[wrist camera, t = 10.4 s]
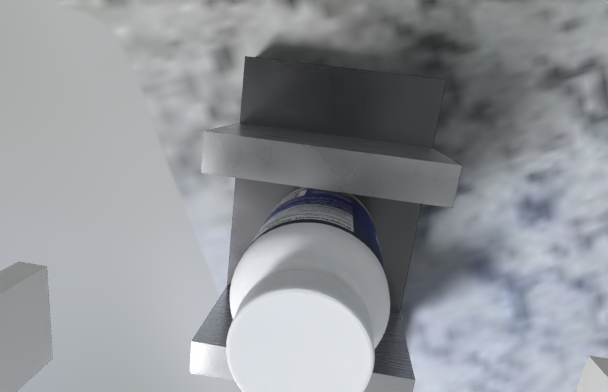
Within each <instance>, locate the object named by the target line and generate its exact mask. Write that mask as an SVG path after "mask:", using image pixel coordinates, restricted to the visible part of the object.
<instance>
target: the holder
mask: <svg viewBox="0 0 608 392" xmlns="http://www.w3.org/2000/svg"><path fill="white" fill-rule="evenodd" d="M445 82H446V80H442V79H434V78H425V77H417V76H408V75H400V74H391V73H383V72H374V71H366V70H357V69H349V68H340V67H332V66H323V65H315V64H306V63H298V62H289V61H281V60H272V59H264V58H255V57H247V56H245V65H244V78H243V91H242V103H241V116H240V123H237V124H232V125H228V126H224V127H219V128H215V129H211V130H207V131H203V145H202V163H201V173H207V174H214V175H221V176H228V177H235V178H236V180H235V192H234V205H233V218H232V230H231V243H230V256H229V268H228V281H227V287H226V288H225V290H224V291H223V293H222V294H221V296H220V298H219V299H218V301H217V302H216V304H215V305H214V307H213V309H212V310H211V312H210V313H209V315H208V316H207V318H206V319H205V321H204V322H203V324H202V326H201V327H200V329H199V330H198V332H197V333H196V335H195V337H194V338H193V340H192V341H191V356H190V373H194V374H199V375H205V376H210V377H216V378H221V379H227V380H232V381H235V380H234V378H233V376H232V374H231V372H230V369H229V366H228V361H227V354H226V341H227V336H228V332H229V329H230V326H231V323H232V321H233V318H232V314H231V309H230V287H231V282H232V278H233V275H234V272H235V269H236V267H237V265H238V263H239V261H240V260H241V257H242V256H243V254H244V253H245V251H246V250H247V248H248V247H249V245H250V244H251V242H252V241H253V239H254V238H255V236H256V235H257V233H258V232H259V230H260V229H261V227H262V226H263V224H264V223H265V221H266V220H267V218H268V216H269V215H270V213H271V212H272V210H273V209H274V208H275V207H276V205H277V204H278V203H279V202H280V201H281V200H282V199H283V198H285V197H286V196H287V195H289V194H290V193H292V192H294V191H296V190H298V189H300V188H303V187H306V188H313V189H320V190H327V191H334V192H342V193H349V194H351V195H353V196H354V197H356V198H357V199H358V200H359V201H360V202H361V203H362V204H363V205H364V206H365V208H366V209H367V211H368V212H369V214H370V216H371V218H372V220H373V223H374V226H375V229H376V233H377V237H378V242H379V246H380V249H381V255H382V259H383V264H384V268H385V272H386V277H387V282H388V288H389V296H390V315H389V320H388V324H387V327H386V330H385V332H384V335H383V337H382V339H381V340H380V342H379V344H378V345H377V347H376V348H375V363H374V369H373V373H372V376H371V379H370V381H369V383H368V385H367V387H366V389H365V391H364V392H413V387H414V383H415V377H414V373H413V369H412V365H411V360H410V356H409V352H408V348H407V343H406V339H405V335H404V331H403V327H402V322H401V318H400V314H399V313H400V308H401V303H402V298H403V293H404V288H405V283H406V278H407V273H408V268H409V263H410V258H411V253H412V248H413V243H414V238H415V233H416V228H417V223H418V218H419V213H420V208H421V204H427V205H434V206H441V207H448V208H453V205H454V201H455V196H456V192H457V187H458V183H459V178H460V174H461V169H462V165H460V164H459V163H457V162H455V161H454V160H452V159H450V158H449V157H447V156H445V155H444V154H442V153H440V152H438V151H437V150H435V149H433V148H432V147H433V142H434V137H435V132H436V127H437V122H438V117H439V112H440V107H441V102H442V97H443V92H444V87H445Z"/></svg>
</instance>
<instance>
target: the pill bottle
mask: <svg viewBox="0 0 608 392" xmlns="http://www.w3.org/2000/svg"><path fill="white" fill-rule="evenodd" d="M230 309H231V314H232V318H233V321H232V323H231V326H230V329H229V332H228V336H227V341H226V354H227V361H228V366H229V369H230V372H231V374H232V376H233V378H234V380H235V381H236V383H237V385H238V386H239V388H240V389H241V390H242V391H243V392H364V391H365V389H366V387H367V385H368V383H369V381H370V379H371V376H372V373H373V369H374V363H375V348H376V347H377V345H378V344H379V342H380V340H381V339H382V337H383V335H384V332H385V330H386V327H387V324H388V320H389V315H390V296H389V288H388V282H387V277H386V272H385V268H384V264H383V259H382V255H381V249H380V246H379V242H378V237H377V233H376V229H375V226H374V223H373V220H372V218H371V216H370V214H369V212H368V211H367V209H366V208H365V206H364V205H363V204H362V203H361V202H360V201H359V200H358V199H357V198H356V197H354V196H353V195H351V194H349V193H342V192H334V191H327V190H320V189H313V188H306V187H303V188H300V189H298V190H296V191H294V192H292V193H290V194H289V195H287V196H286V197H285V198H283V199H282V200H281V201H280V202H279V203H278V204H277V205H276V207H275V208H274V209H273V210H272V212H271V213H270V215H269V216H268V218H267V220H266V221H265V223H264V224H263V226H262V227H261V229H260V230H259V232H258V233H257V235H256V236H255V238H254V239H253V241H252V242H251V244H250V245H249V247H248V248H247V250H246V251H245V253H244V254H243V256H242V257H241V260H240V261H239V263H238V265H237V267H236V269H235V272H234V275H233V278H232V282H231V287H230Z"/></svg>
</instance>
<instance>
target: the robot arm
mask: <svg viewBox="0 0 608 392" xmlns="http://www.w3.org/2000/svg"><path fill="white" fill-rule="evenodd" d="M47 275H48V274H47V266H42V265H36V264H30V263H24V262H17V263H15V264H13V265H11V266H10V267H8V268H6V269H4V270H2V271H0V392H17V391H18V390H19V389H20V388H21V387H22V386H23V385H25V384H26V382H28V381H29V380H30V379H31V378H32V377H33V376H34V375H36V374H37V373H38V372H39V371H40V370H41V369H42V368H43V367H44V366H45V365H46V364H48V363H49V362H50V361H51V360H52V359H53V353H52V337H51V321H50V305H49V290H48V276H47ZM575 392H608V359H606V358H600V357H594V356H588V358H587V361H586V364H585V367H584V369H583V372H582V375H581V378H580V380H579V383H578V386H577V389H576V391H575Z"/></svg>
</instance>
